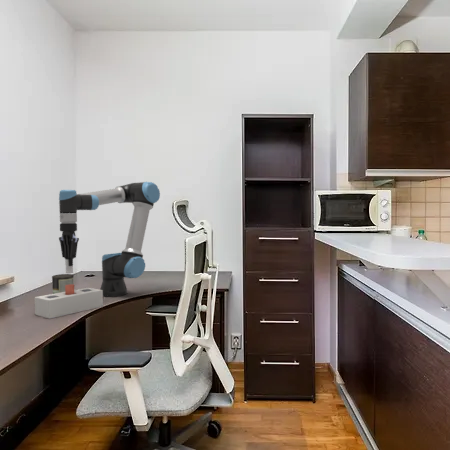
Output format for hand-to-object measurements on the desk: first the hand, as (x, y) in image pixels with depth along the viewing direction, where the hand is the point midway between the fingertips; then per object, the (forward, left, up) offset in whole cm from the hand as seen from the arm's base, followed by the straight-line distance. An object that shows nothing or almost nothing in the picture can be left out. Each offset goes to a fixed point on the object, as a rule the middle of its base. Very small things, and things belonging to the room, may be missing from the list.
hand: (69, 272), depth 194 cm
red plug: (0, 0, -13) cm, 13 cm away
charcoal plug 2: (-9, 0, -17) cm, 19 cm away
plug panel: (0, 0, -18) cm, 18 cm away
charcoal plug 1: (+9, 0, -17) cm, 19 cm away
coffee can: (-7, -17, -18) cm, 26 cm away
